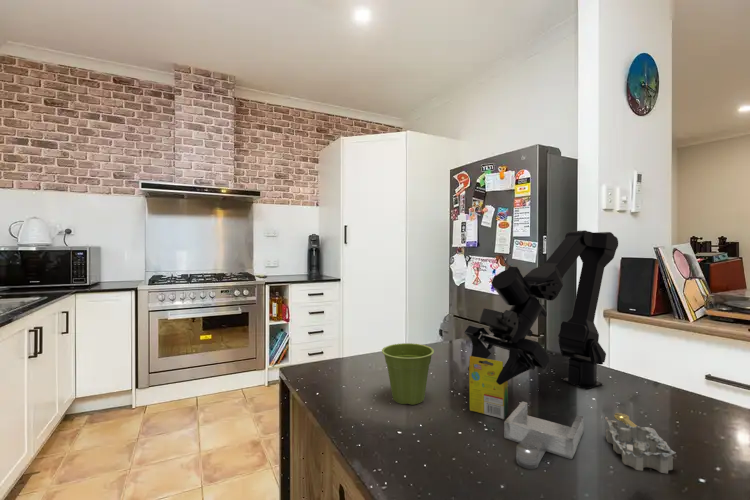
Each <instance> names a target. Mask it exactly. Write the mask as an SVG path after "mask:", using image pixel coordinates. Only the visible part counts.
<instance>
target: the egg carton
mask: <svg viewBox="0 0 750 500" xmlns="http://www.w3.org/2000/svg"><path fill="white" fill-rule="evenodd" d="M604 420H606V423H607V424H608V427H607V428H606V429H605V437H606V442H607V443H609V444H612V445H613V451H614V452H616V454H619V455H621V462H622V463H623V464H624V465H626V466H629V467H631V468H633V469H635V470H636V471H644V468H651V469H654V470H656V471H657V472H659V473H662V474H669V471H673V468H674V465H673V461H674V460H673V459H674V458H673V455H675V454H676V453H677V452H676V451H674V450H672V449H671V447H670V446H669V445H668V443H667V441H664V439H663V437H660V436H659V434H658V432H657V431H656V430H655V428H652V427H648V426H647V427H646V426H644V427H643V426H639V425H637V424H636V425H637V426H636V427H631V426H630V425H629V424H627V425H626V424H625V427H619V425H618V422H617V421H616V420H610V419H609V417H608V416H606V415H605V417H604ZM628 442H629V443H630V442H632V444H628Z"/></svg>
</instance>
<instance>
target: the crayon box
mask: <svg viewBox="0 0 750 500" xmlns="http://www.w3.org/2000/svg"><path fill="white" fill-rule="evenodd" d="M479 361H484V362H488V363H484V362H483V363H479ZM489 363H491V364H489ZM468 367H469V371H468V373H469V377H468V378H469V379H468V381H469V383H468V385H469V386H468V387H469V391H468V393H469V399H468V400H469V411H470V412H475V413H479V414H483V415H485V416H486V415H487V416H490V417H494V418H498V419H500V420H505V419H506V417H507V416H509V415H508V414H509V394H508V393H509V391H508V390H509V389H508V388H509V386H508V384H509V383H508V381H509V380H508V381H506V382H505V383H503V384H501V385H499V384H498V383H497V382H496V380H497V378H498V376H499V374H500V372H501V371H502V369H503V367H504V361H501V360H496V359H490V358H486V359H485V358H479V357H473V356H471V355H469V361H468Z"/></svg>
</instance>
